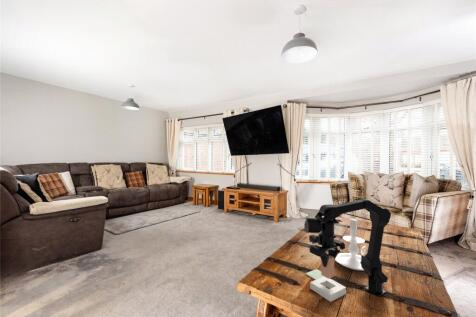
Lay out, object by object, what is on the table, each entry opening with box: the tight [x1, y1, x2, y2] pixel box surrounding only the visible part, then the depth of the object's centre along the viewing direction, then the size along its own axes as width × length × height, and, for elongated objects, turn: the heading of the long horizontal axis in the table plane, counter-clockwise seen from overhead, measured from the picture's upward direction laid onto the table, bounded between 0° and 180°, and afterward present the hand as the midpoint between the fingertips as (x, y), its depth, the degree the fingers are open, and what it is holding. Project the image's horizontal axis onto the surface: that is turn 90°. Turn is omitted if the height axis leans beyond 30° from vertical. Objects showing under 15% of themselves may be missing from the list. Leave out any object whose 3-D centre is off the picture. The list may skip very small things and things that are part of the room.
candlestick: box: [334, 217, 367, 271], centre depth 123 cm, size 21×25×28 cm
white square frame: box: [309, 277, 347, 303], centre depth 98 cm, size 11×11×3 cm
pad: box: [305, 268, 324, 280], centre depth 111 cm, size 9×9×1 cm
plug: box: [320, 255, 335, 279], centre depth 98 cm, size 4×4×9 cm
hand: (327, 265), depth 98 cm, fingers closed on plug, 4 cm apart
